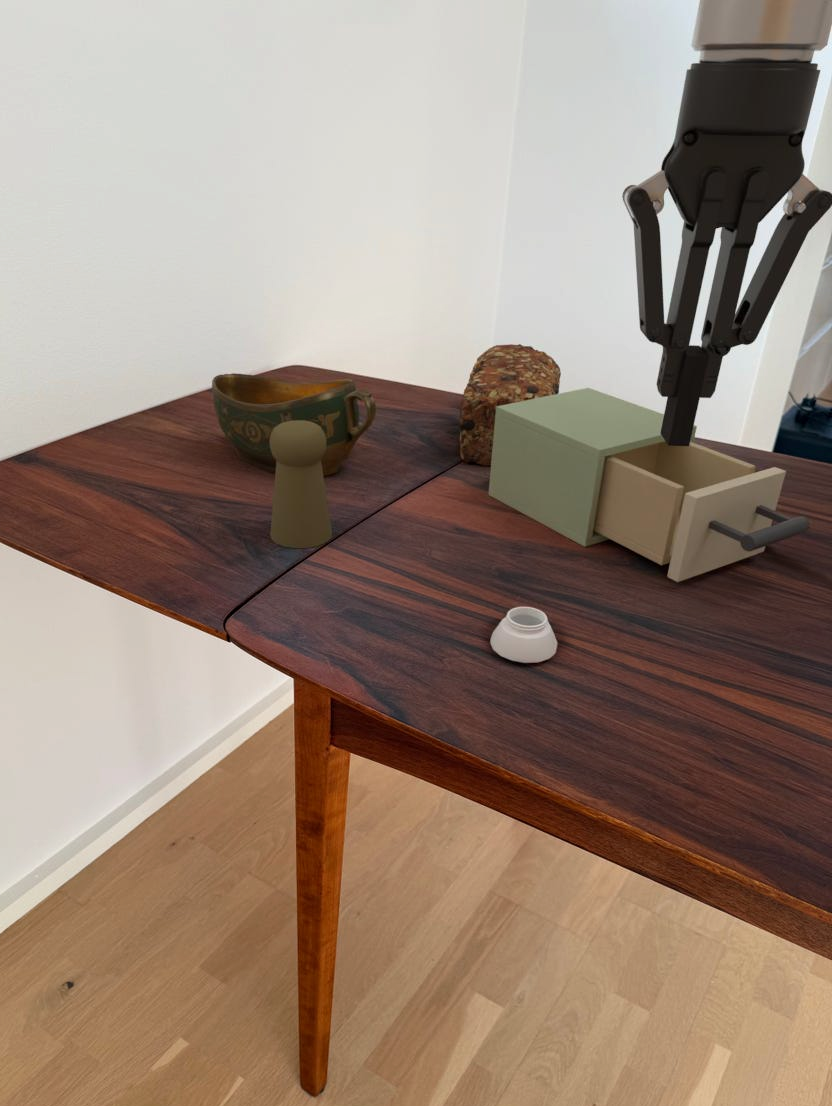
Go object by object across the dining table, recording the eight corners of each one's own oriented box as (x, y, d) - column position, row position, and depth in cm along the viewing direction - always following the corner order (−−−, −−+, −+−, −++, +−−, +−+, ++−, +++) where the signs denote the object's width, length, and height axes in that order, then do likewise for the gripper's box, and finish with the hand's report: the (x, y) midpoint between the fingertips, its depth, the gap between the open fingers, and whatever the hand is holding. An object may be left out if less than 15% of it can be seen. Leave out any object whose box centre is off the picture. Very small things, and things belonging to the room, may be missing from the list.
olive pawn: (270, 522, 88) (264, 414, 82) (330, 520, 88) (329, 412, 82) (269, 549, 83) (263, 436, 77) (333, 547, 83) (332, 434, 77)
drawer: (810, 572, 77) (836, 489, 73) (722, 606, 72) (745, 518, 68) (651, 501, 90) (666, 427, 86) (568, 525, 85) (579, 448, 81)
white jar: (567, 647, 68) (512, 625, 71) (572, 614, 67) (515, 593, 70) (534, 675, 65) (478, 651, 68) (539, 641, 64) (481, 618, 66)
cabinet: (677, 518, 89) (697, 425, 83) (584, 547, 83) (600, 449, 78) (576, 472, 99) (588, 387, 94) (488, 495, 94) (495, 406, 89)
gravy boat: (276, 503, 92) (271, 408, 86) (208, 445, 107) (200, 360, 101) (382, 481, 97) (384, 390, 92) (304, 428, 112) (301, 347, 106)
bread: (475, 415, 116) (481, 337, 111) (556, 421, 114) (567, 342, 109) (453, 465, 101) (459, 378, 96) (547, 474, 99) (558, 385, 93)
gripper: (842, 60, 55) (749, 426, 68) (632, 59, 56) (578, 420, 69) (895, 57, 49) (781, 461, 62) (656, 55, 50) (592, 454, 62)
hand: (674, 439), depth 65 cm, fingers closed
